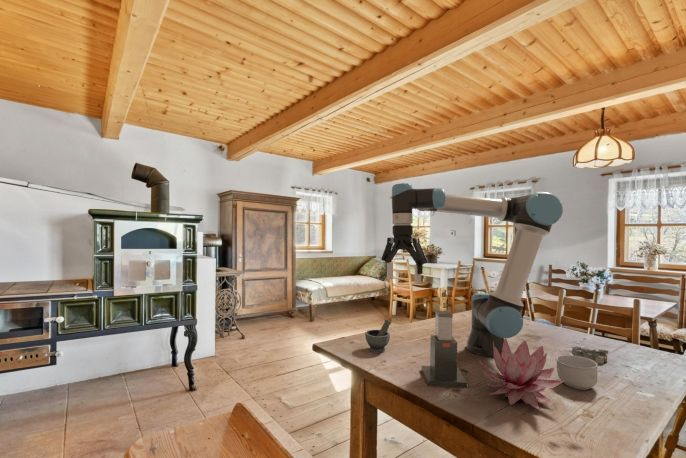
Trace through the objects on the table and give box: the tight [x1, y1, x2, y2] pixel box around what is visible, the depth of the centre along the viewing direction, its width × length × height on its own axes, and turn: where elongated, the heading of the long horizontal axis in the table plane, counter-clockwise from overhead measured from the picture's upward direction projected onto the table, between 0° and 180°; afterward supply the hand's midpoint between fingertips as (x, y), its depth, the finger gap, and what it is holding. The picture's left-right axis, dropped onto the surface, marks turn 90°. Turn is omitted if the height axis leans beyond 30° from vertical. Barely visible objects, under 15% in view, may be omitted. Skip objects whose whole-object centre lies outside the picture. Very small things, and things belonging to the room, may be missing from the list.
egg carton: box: [571, 345, 609, 365], centre depth 130 cm, size 11×8×4 cm
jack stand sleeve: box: [420, 334, 468, 388], centre depth 111 cm, size 12×12×13 cm
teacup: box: [555, 353, 599, 391], centre depth 108 cm, size 14×11×8 cm
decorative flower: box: [479, 338, 564, 409], centre depth 98 cm, size 21×21×15 cm
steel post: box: [434, 310, 453, 341], centre depth 111 cm, size 4×4×20 cm
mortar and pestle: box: [364, 318, 392, 354], centre depth 136 cm, size 11×9×12 cm
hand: (403, 281), depth 127 cm, fingers open, 13 cm apart
